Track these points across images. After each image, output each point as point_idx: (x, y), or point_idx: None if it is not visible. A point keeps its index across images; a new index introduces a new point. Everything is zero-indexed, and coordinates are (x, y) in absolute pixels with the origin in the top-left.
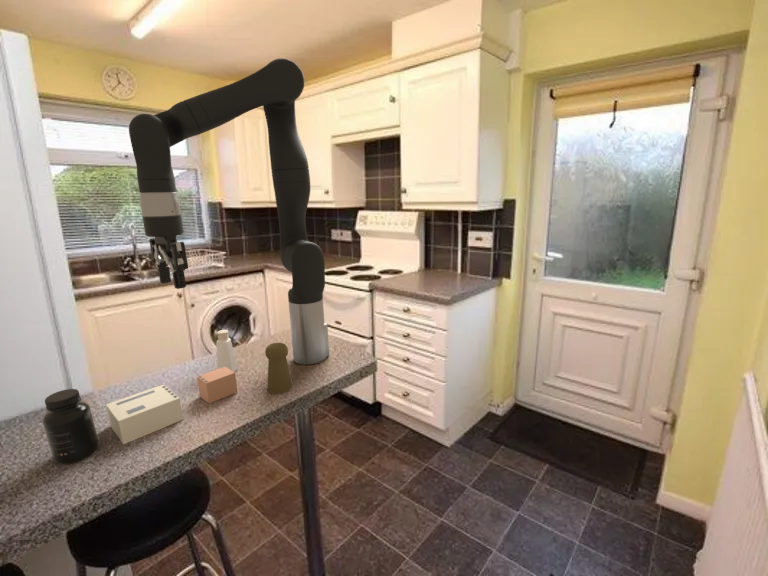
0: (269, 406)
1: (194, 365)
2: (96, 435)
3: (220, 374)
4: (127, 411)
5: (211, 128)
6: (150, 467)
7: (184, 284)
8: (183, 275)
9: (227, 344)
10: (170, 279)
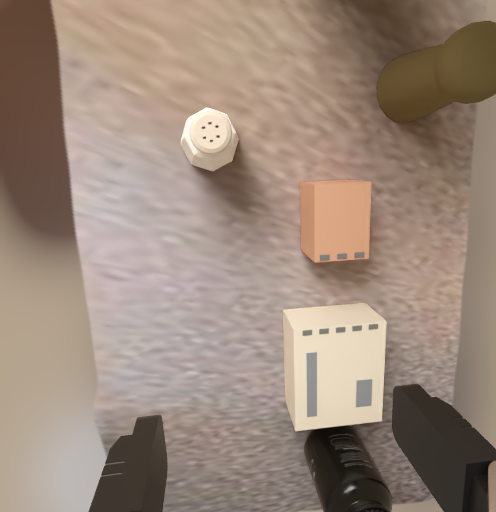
0: (458, 157)
1: (107, 198)
2: (349, 435)
3: (351, 214)
4: (359, 405)
5: None
6: (453, 372)
7: (442, 403)
8: (494, 449)
9: (236, 134)
10: (157, 423)
